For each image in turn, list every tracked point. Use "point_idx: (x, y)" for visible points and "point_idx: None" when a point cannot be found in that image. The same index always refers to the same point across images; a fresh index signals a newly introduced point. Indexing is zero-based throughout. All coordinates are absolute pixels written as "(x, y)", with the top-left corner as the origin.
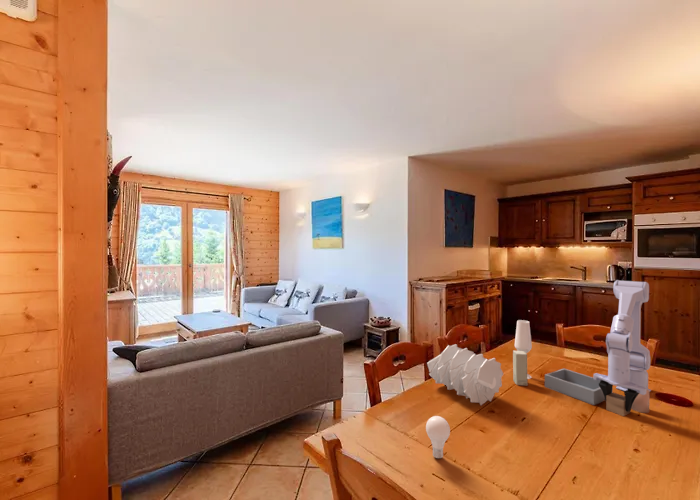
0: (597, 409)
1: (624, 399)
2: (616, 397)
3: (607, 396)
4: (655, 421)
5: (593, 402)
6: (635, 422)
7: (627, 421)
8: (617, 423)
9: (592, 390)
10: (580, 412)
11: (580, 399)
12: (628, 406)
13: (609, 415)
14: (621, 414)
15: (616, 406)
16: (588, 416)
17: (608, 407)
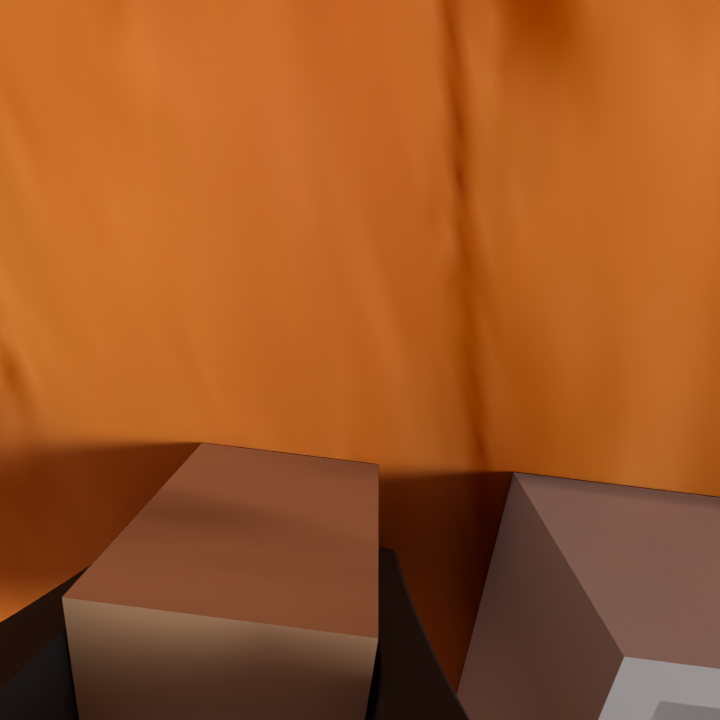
0: (451, 393)
1: (104, 690)
2: (223, 680)
3: (358, 625)
4: (3, 561)
5: (531, 494)
6: (71, 388)
7: (122, 341)
8: (154, 169)
9: (659, 686)
10: (600, 74)
11: (680, 500)
12: (86, 568)
13: (301, 336)
14: (217, 452)
15: (243, 508)
16: (474, 30)
17: (353, 486)
